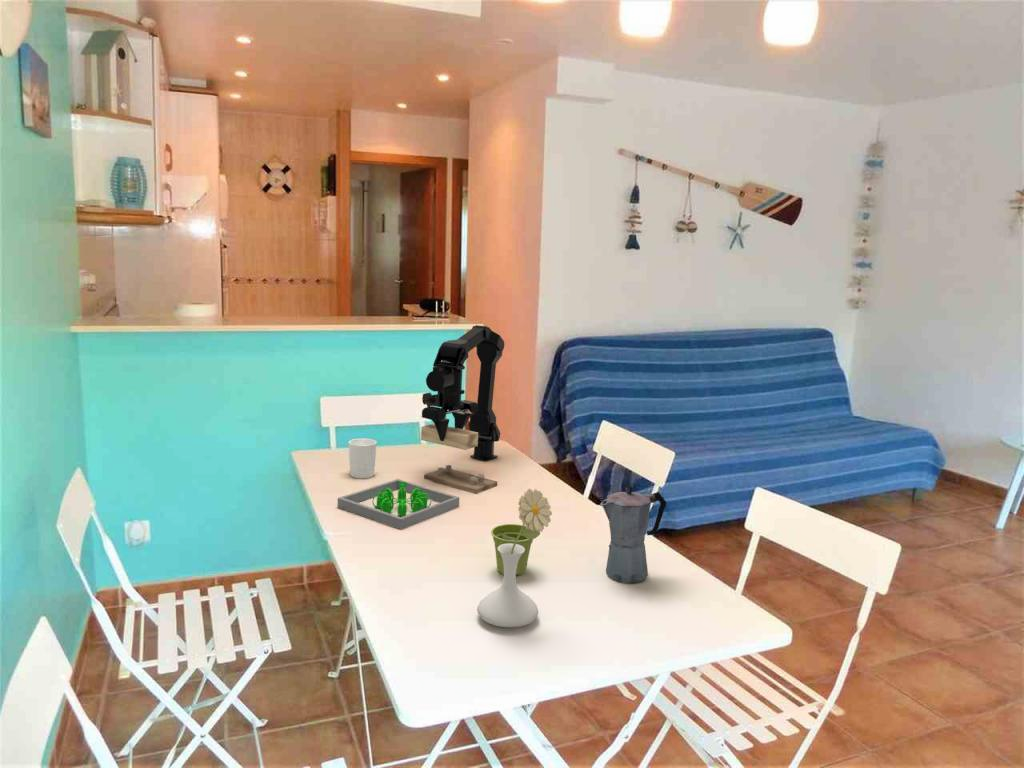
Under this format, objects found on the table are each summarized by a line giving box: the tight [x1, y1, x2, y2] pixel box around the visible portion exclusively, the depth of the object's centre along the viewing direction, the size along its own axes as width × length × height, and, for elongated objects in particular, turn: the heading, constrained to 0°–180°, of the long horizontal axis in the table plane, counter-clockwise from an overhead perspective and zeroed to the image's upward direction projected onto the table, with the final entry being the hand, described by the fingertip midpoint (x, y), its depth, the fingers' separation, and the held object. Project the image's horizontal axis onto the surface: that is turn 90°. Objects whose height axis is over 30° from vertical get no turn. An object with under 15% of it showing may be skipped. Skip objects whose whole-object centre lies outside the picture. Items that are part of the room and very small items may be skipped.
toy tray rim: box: [337, 478, 460, 530], centre depth 196 cm, size 22×22×2 cm
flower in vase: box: [476, 488, 553, 628], centre depth 140 cm, size 13×11×25 cm
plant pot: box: [490, 523, 534, 576], centre depth 162 cm, size 9×9×9 cm
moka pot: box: [600, 485, 667, 584], centre depth 162 cm, size 10×15×20 cm, turn 113°
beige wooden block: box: [420, 422, 478, 451], centre depth 221 cm, size 6×16×4 cm, turn 58°
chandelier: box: [372, 481, 432, 517], centre depth 195 cm, size 15×15×7 cm
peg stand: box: [423, 464, 498, 494], centre depth 219 cm, size 10×19×3 cm, turn 55°
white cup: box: [348, 437, 378, 479], centre depth 220 cm, size 8×8×10 cm
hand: (449, 438), depth 221 cm, fingers closed on beige wooden block, 6 cm apart
